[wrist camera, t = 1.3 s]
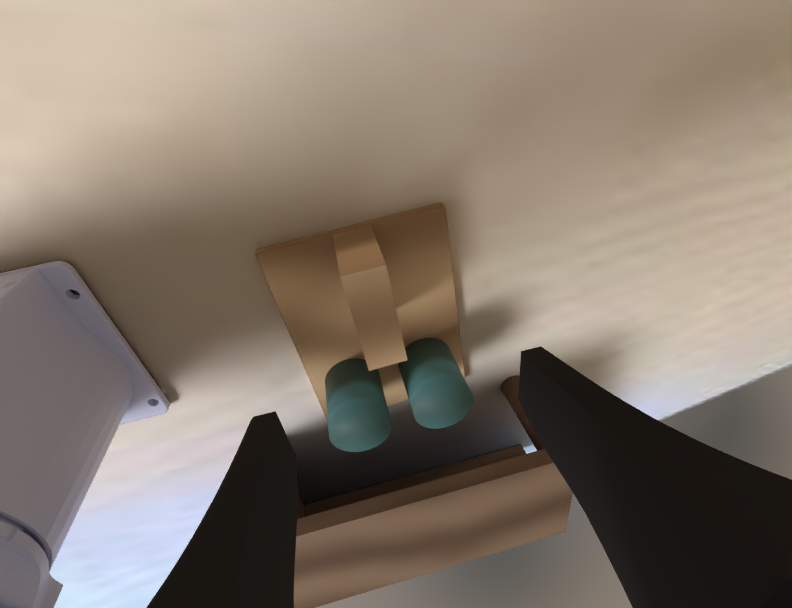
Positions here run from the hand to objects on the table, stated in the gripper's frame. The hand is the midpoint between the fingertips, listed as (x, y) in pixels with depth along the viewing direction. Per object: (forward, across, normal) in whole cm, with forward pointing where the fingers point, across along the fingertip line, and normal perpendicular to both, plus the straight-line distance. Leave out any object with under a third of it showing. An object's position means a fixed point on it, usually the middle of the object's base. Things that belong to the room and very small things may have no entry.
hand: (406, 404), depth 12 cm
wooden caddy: (+10, 0, +16) cm, 18 cm away
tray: (+10, 0, +4) cm, 11 cm away
